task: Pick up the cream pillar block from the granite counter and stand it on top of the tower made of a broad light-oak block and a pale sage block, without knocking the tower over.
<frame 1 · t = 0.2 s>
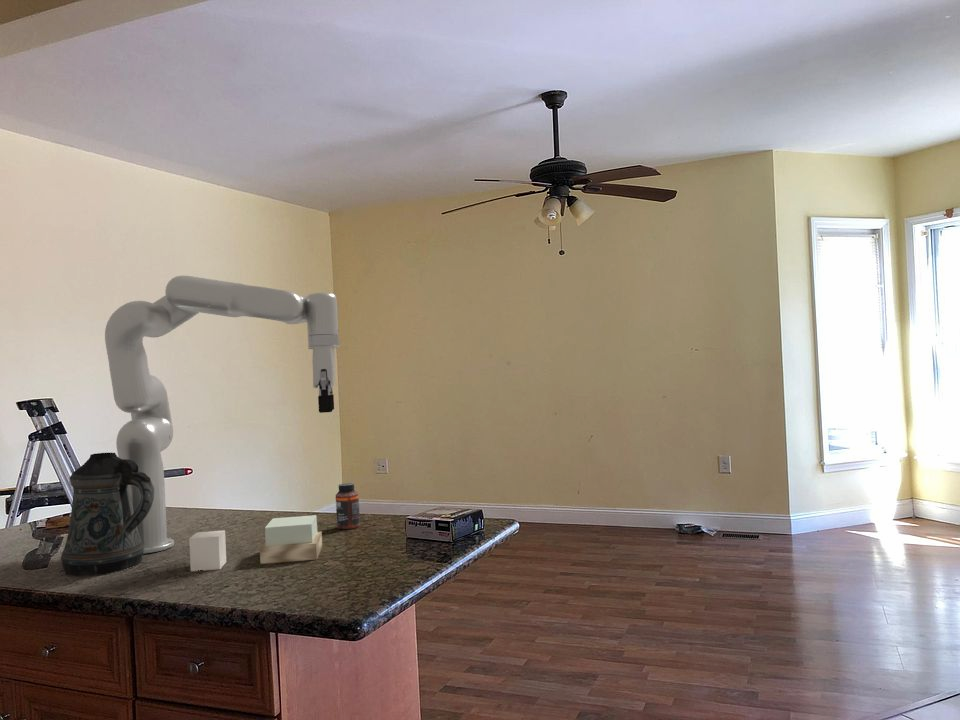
hand: (326, 411, 184), 31 cm above the worktop, tool pointing down, fingers open, 9 cm apart
bottom block: (292, 556, 166), on the worktop, touching top block
pillar block: (208, 566, 160), on the worktop
beer stein: (111, 566, 165), on the worktop
supplement bottle: (348, 528, 193), on the worktop
top block: (292, 538, 167), point 3 cm above the worktop, touching bottom block
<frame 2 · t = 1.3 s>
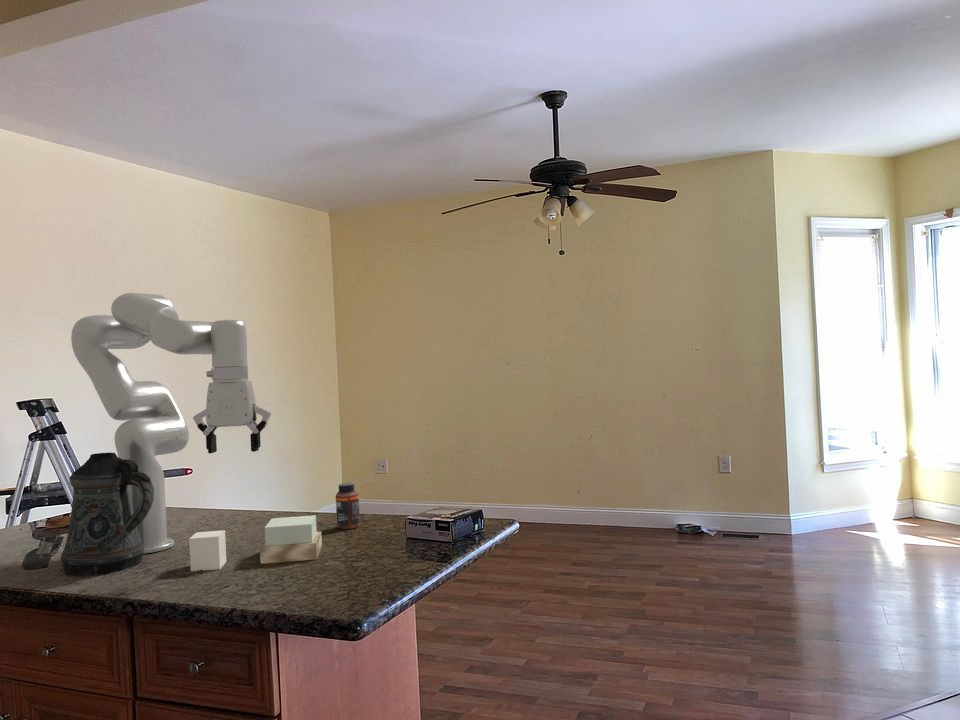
hand: (233, 451, 165), 24 cm above the worktop, tool pointing down, fingers open, 9 cm apart
bottom block: (292, 556, 166), on the worktop
top block: (291, 538, 166), point 3 cm above the worktop
everything else where it was.
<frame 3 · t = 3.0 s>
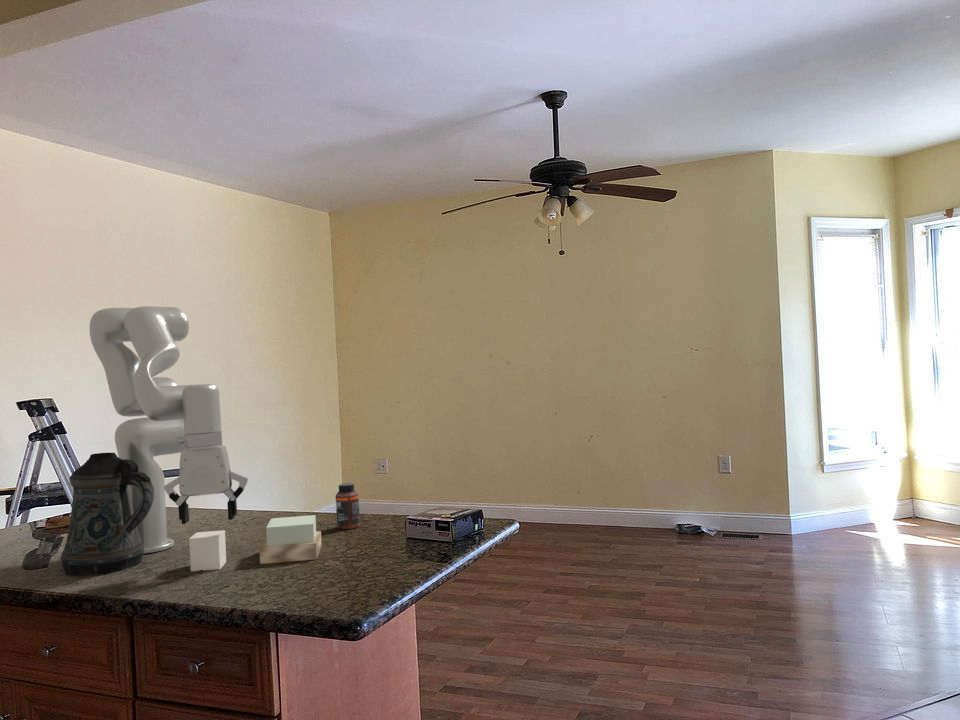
hand: (208, 520, 159), 10 cm above the worktop, tool pointing down, fingers open, 9 cm apart
bottom block: (292, 556, 166), on the worktop, touching top block
top block: (292, 538, 167), point 3 cm above the worktop, touching bottom block
everything else where it was.
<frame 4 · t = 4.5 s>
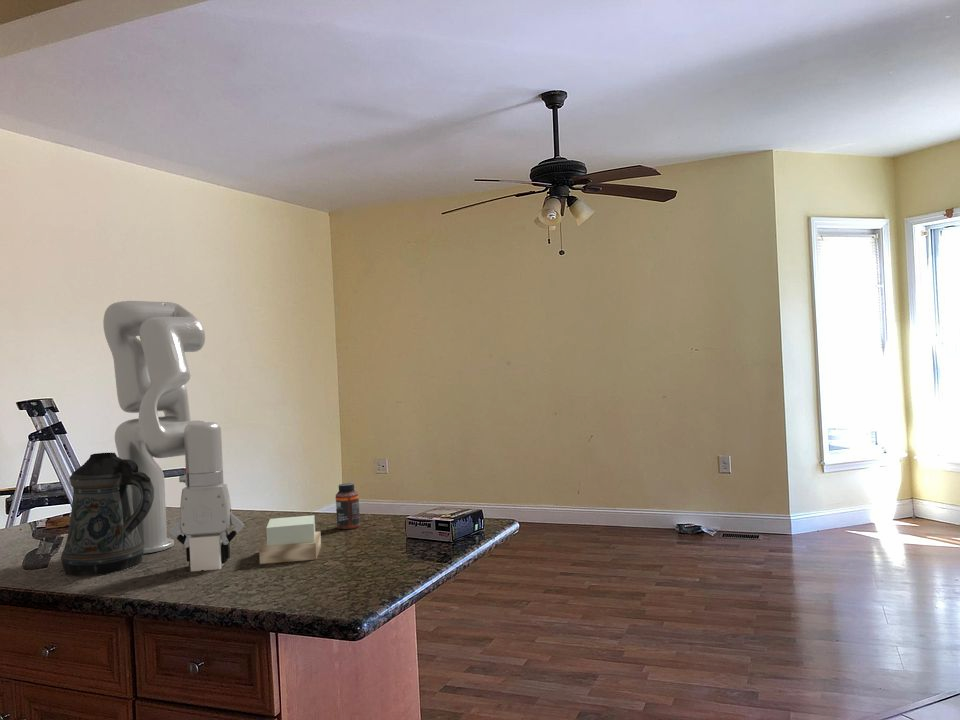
hand: (208, 562, 159), 1 cm above the worktop, tool pointing down, fingers closed on pillar block, 6 cm apart
pillar block: (208, 566, 159), on the worktop, touching gripper
everything else where it was.
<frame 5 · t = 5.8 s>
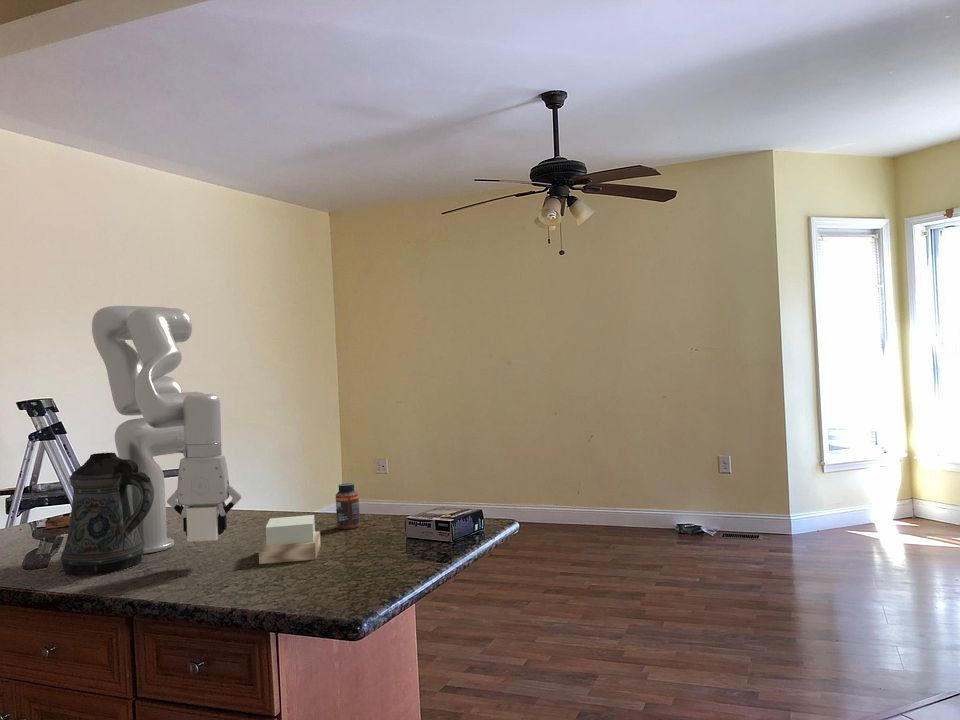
hand: (205, 533, 160), 7 cm above the worktop, tool pointing down, fingers closed on pillar block, 6 cm apart
pillar block: (205, 537, 160), point 6 cm above the worktop, touching gripper
everything else where it was.
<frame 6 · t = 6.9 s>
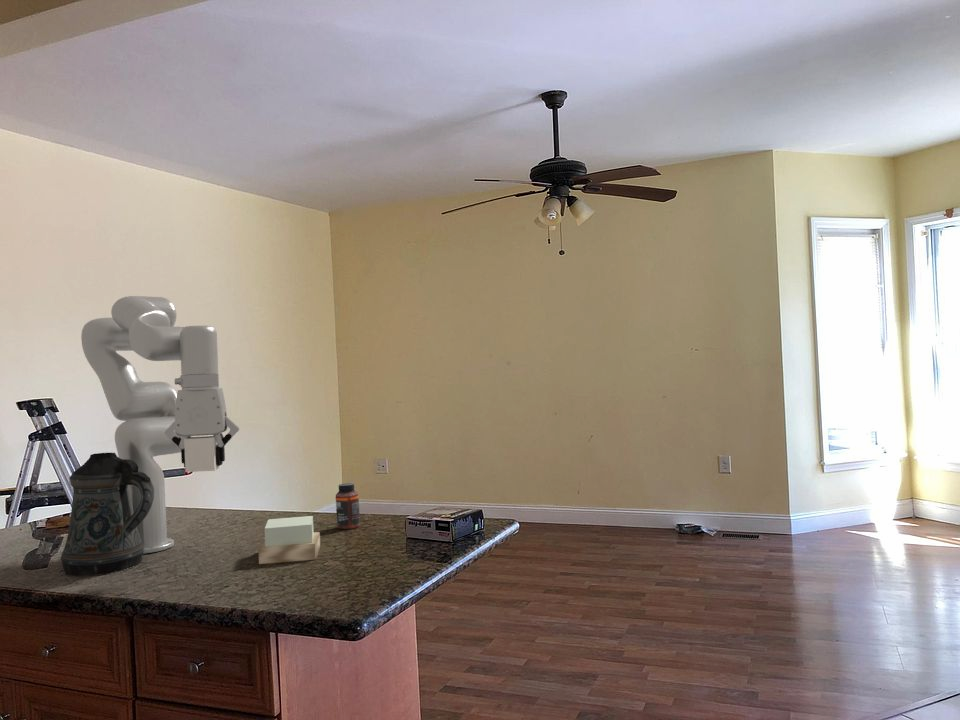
hand: (203, 465, 160), 22 cm above the worktop, tool pointing down, fingers closed on pillar block, 6 cm apart
pillar block: (203, 469, 160), point 21 cm above the worktop, touching gripper
everything else where it was.
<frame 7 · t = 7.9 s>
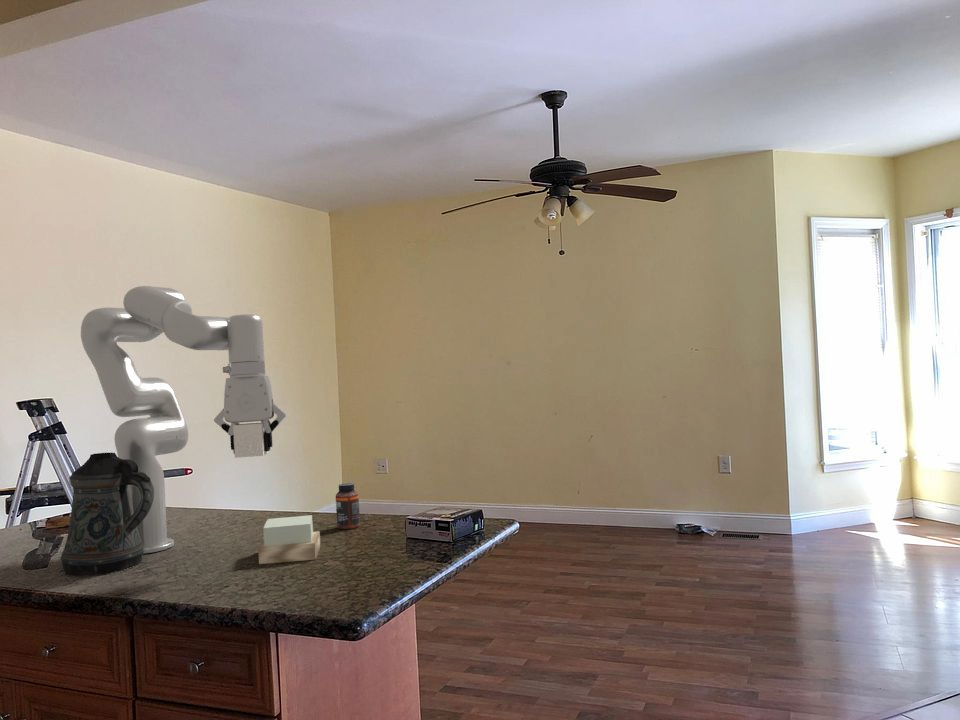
hand: (252, 451, 163), 24 cm above the worktop, tool pointing down, fingers closed on pillar block, 6 cm apart
bottom block: (291, 556, 166), on the worktop
pillar block: (252, 455, 163), point 23 cm above the worktop, touching gripper
top block: (289, 539, 166), point 4 cm above the worktop
everything else where it was.
when the fingers open (9 cm above the worktop, at t = 11.8 s): pillar block stays where it is, resting on top block.
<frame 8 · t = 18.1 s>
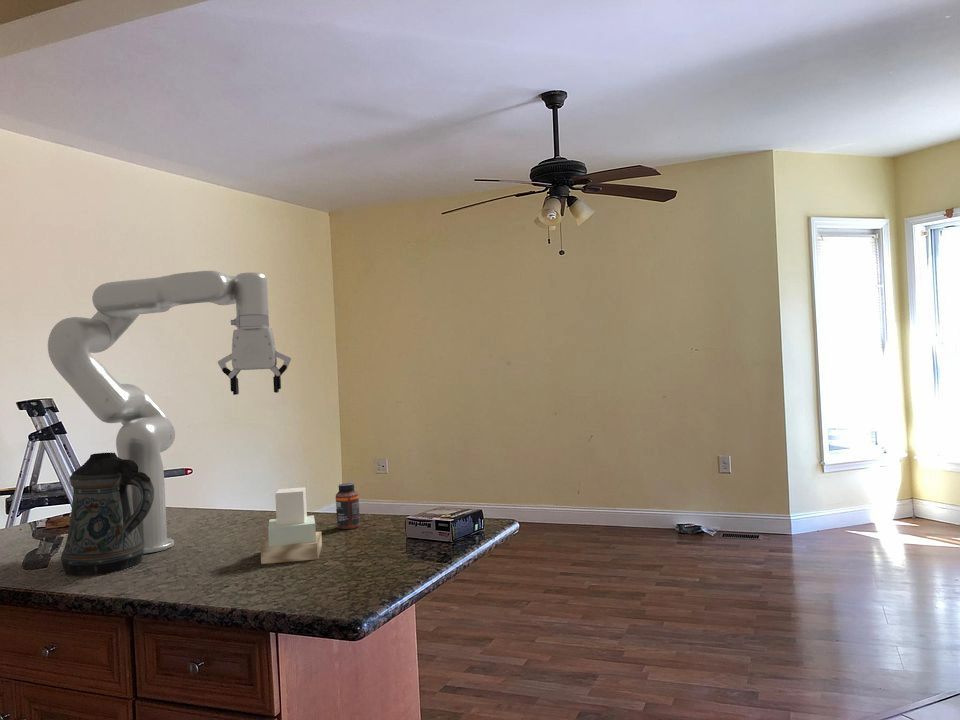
hand: (256, 393, 181), 36 cm above the worktop, tool pointing down, fingers open, 9 cm apart
bottom block: (293, 557, 166), on the worktop, touching top block
pillar block: (292, 521, 167), point 7 cm above the worktop, touching top block
top block: (292, 539, 166), point 3 cm above the worktop, touching bottom block, pillar block
everything else where it was.
at the end: pillar block 0.2 cm off-centre on the top block, point 4.0 cm above the top block's base; top block 0.1 cm off-centre on the bottom block, point 4.0 cm above the bottom block's base; pillar block tilted 0° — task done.
